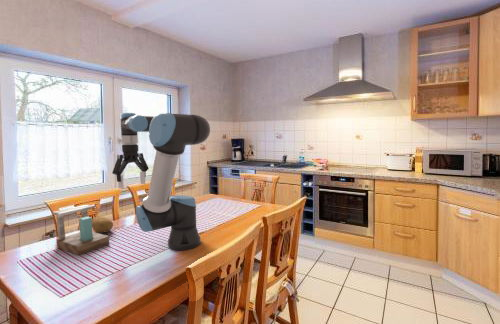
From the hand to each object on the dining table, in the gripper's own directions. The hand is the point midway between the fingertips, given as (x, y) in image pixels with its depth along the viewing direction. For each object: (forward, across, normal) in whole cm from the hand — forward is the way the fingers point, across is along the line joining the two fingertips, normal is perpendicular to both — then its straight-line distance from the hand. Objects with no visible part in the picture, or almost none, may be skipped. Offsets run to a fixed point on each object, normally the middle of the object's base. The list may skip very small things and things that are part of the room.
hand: (132, 185), depth 140 cm
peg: (+26, +20, -9) cm, 34 cm away
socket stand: (+26, +20, -12) cm, 35 cm away
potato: (+26, +3, -21) cm, 34 cm away
